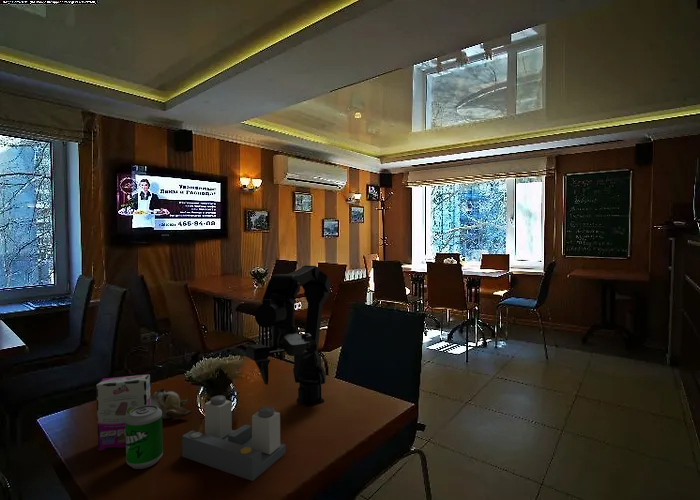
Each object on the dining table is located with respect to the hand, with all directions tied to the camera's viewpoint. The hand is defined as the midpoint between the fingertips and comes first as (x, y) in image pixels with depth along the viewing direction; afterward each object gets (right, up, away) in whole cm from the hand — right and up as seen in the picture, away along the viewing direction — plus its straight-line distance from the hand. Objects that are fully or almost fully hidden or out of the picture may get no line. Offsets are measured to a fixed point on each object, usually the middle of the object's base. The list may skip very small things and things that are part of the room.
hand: (282, 381), depth 104 cm
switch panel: (-9, -14, -11) cm, 20 cm away
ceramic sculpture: (-35, -14, +9) cm, 39 cm away
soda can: (-29, -14, -13) cm, 35 cm away
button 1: (-15, -12, -5) cm, 20 cm away
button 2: (-2, -12, -12) cm, 17 cm away
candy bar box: (-38, -14, -5) cm, 41 cm away
